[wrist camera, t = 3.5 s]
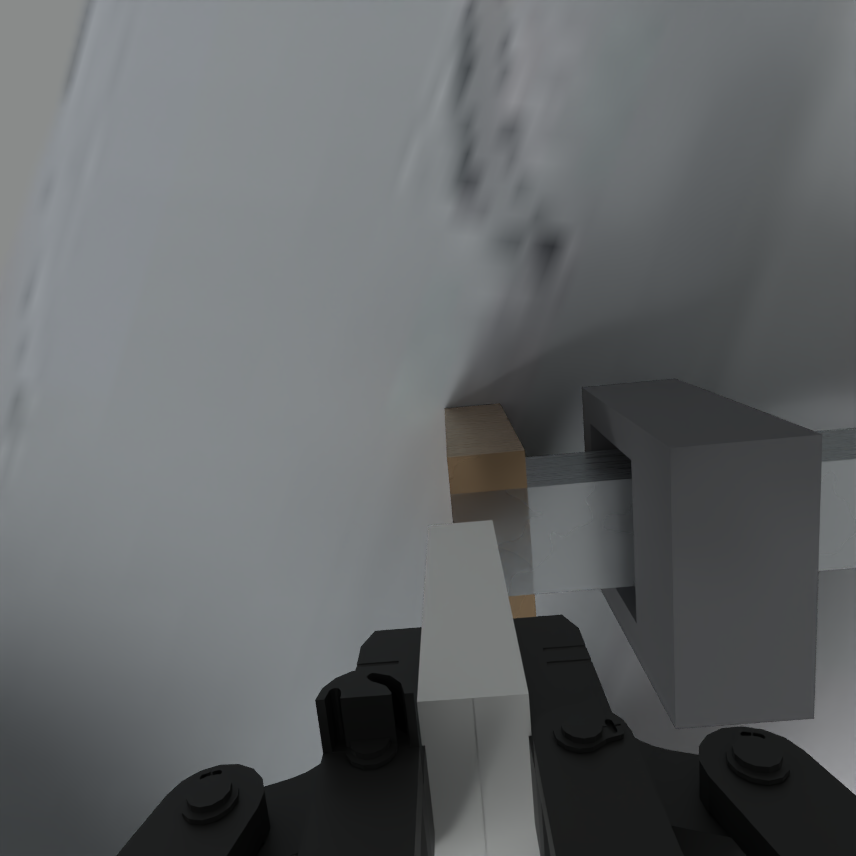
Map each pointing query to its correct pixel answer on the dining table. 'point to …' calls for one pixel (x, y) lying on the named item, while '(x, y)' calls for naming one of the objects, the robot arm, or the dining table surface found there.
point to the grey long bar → (590, 506)
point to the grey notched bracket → (716, 550)
